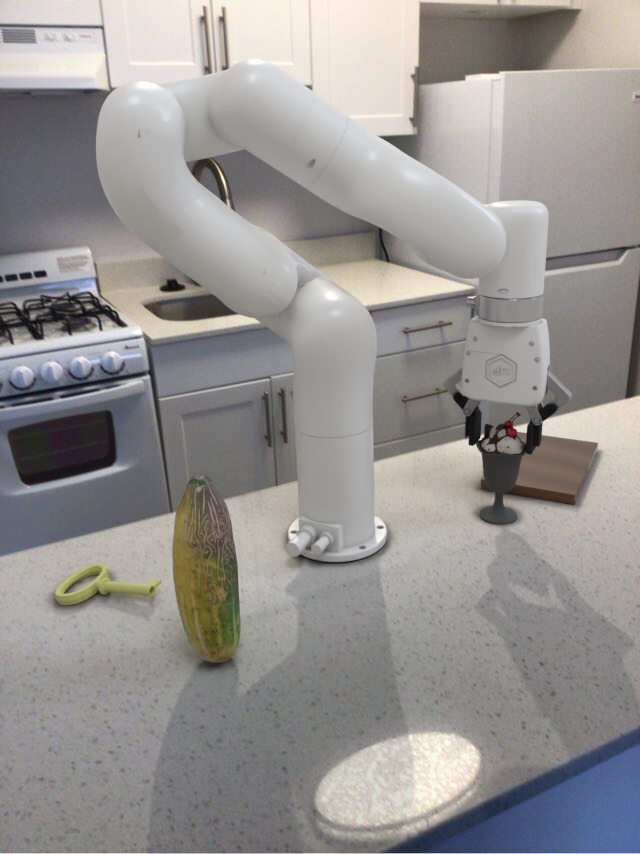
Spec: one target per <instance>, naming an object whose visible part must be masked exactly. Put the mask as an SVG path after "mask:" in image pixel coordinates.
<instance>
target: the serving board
mask: <svg viewBox="0 0 640 854" xmlns="http://www.w3.org/2000/svg"><path fill="white" fill-rule="evenodd" d="M517 435H518V436H519V438H520V439H521V441H523V442H525V443H526V436H527V432H522V431H517ZM598 448H599V442H595V441H589V440H588V441H587V440H580V439H574V438H566V437H559V436H552V435H545V434H542V438H541V444H540V446H539V447H537V446H536V448H535V450H534V451H533V453H532V454H531V455H530V454H527V453H526V454H525V455H523V456H522V460H521V464H520V468H519V473H518V477H517V480H516V483H515V486H514V487H513V488H512V489H510V490H509V491H507V492H505V493H504V494H511V495H516V496H523V497H527V498H528V497H529V498H535V499H540V500H546V501H552V502H556V503H557V502H558V503H564V504H570V505H575V504H576V501H577V499H578V497H579V495H580V492H581V490H582V487H583V485H584V484H585V481H586V478H587V476H588V474H589V471H590V469H591V467H592V464H593V462H594V460H595V458H596V456H597V453H598ZM480 489H483V490H487V491H488V490H489V491H492V490H491V489H490V488H489V487H488V486H487V485H486V483H485V479H484V475H483V476H482V477H481V478H480Z"/></svg>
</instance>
